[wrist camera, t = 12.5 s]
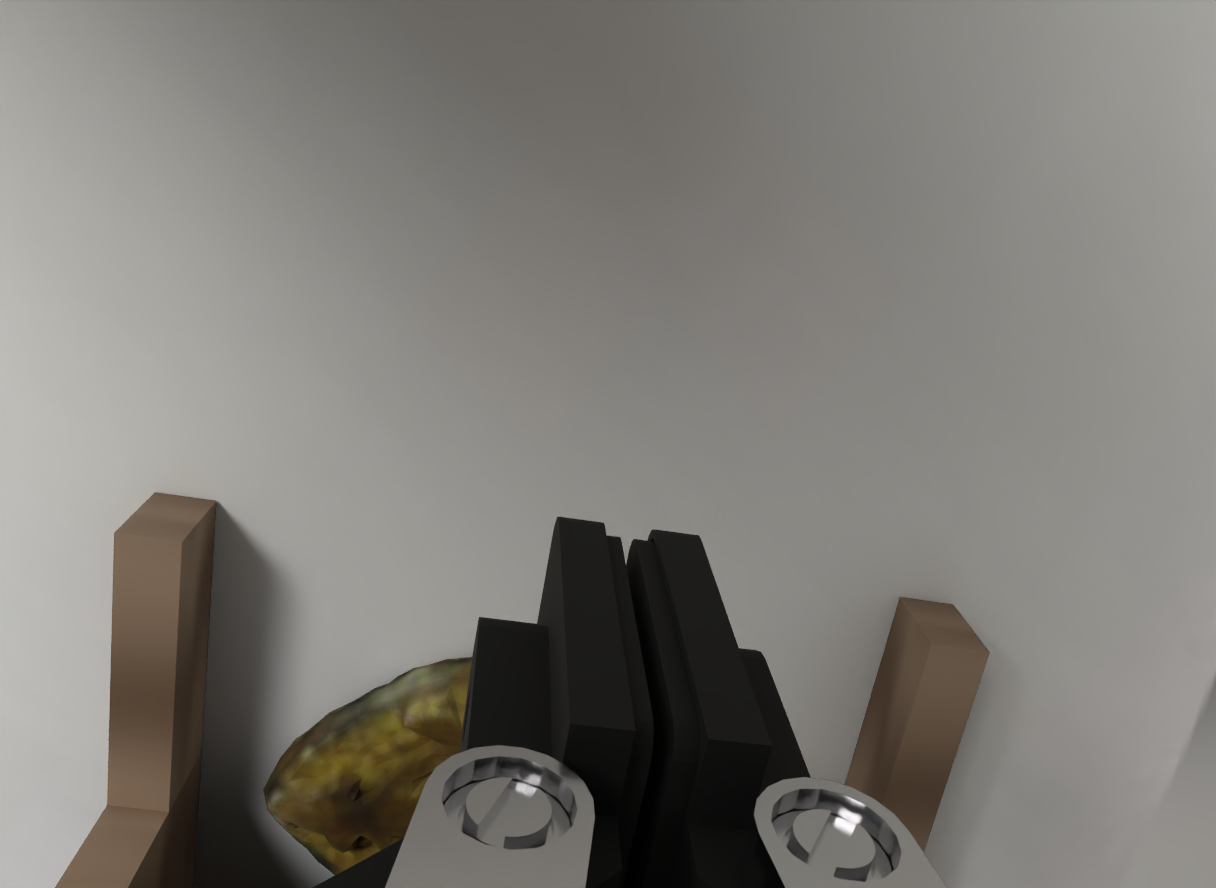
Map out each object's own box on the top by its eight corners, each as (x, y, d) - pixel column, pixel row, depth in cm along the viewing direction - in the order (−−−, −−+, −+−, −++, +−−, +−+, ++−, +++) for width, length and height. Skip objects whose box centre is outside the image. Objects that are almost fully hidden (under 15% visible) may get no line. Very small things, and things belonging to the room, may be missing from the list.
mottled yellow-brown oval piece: (289, 885, 32) (772, 898, 32) (244, 1029, 27) (802, 1041, 28) (267, 634, 28) (819, 657, 28) (210, 758, 23) (861, 781, 24)
